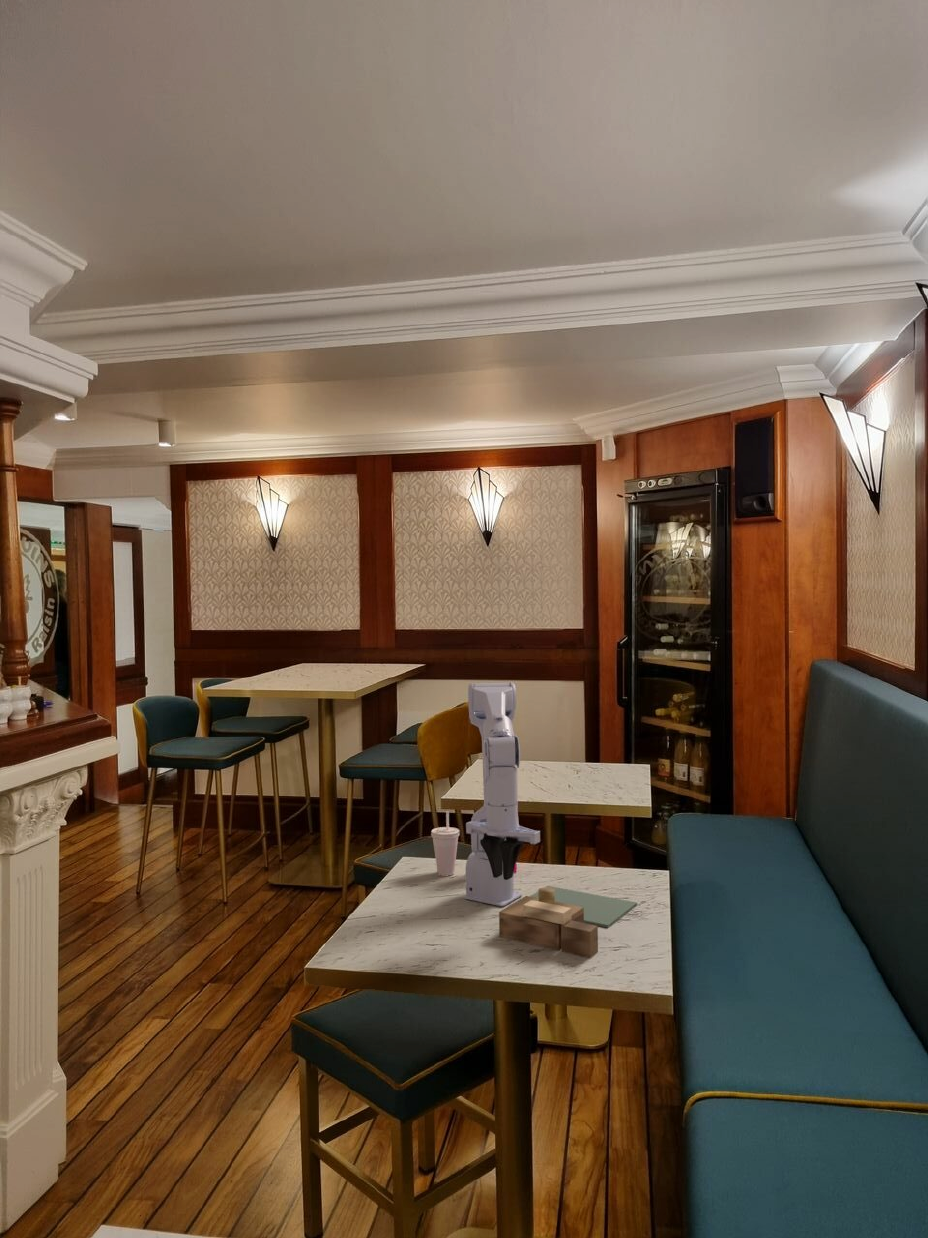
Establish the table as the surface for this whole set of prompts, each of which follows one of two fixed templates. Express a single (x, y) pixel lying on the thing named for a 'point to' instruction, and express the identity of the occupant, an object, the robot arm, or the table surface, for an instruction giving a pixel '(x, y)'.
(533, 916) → the block
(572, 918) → the lid
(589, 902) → the mat
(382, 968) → the table surface
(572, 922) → the open wooden box
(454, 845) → the smoothie
